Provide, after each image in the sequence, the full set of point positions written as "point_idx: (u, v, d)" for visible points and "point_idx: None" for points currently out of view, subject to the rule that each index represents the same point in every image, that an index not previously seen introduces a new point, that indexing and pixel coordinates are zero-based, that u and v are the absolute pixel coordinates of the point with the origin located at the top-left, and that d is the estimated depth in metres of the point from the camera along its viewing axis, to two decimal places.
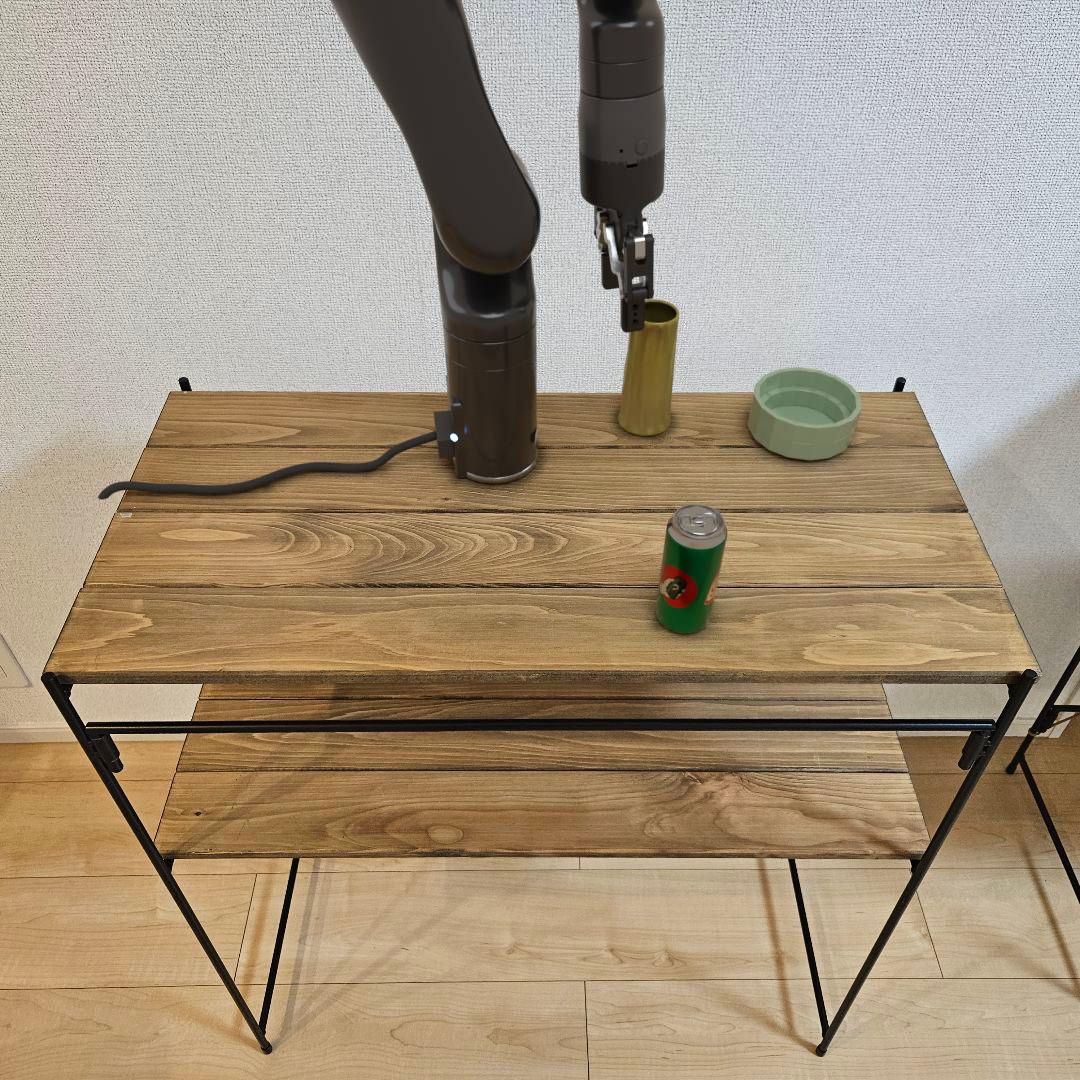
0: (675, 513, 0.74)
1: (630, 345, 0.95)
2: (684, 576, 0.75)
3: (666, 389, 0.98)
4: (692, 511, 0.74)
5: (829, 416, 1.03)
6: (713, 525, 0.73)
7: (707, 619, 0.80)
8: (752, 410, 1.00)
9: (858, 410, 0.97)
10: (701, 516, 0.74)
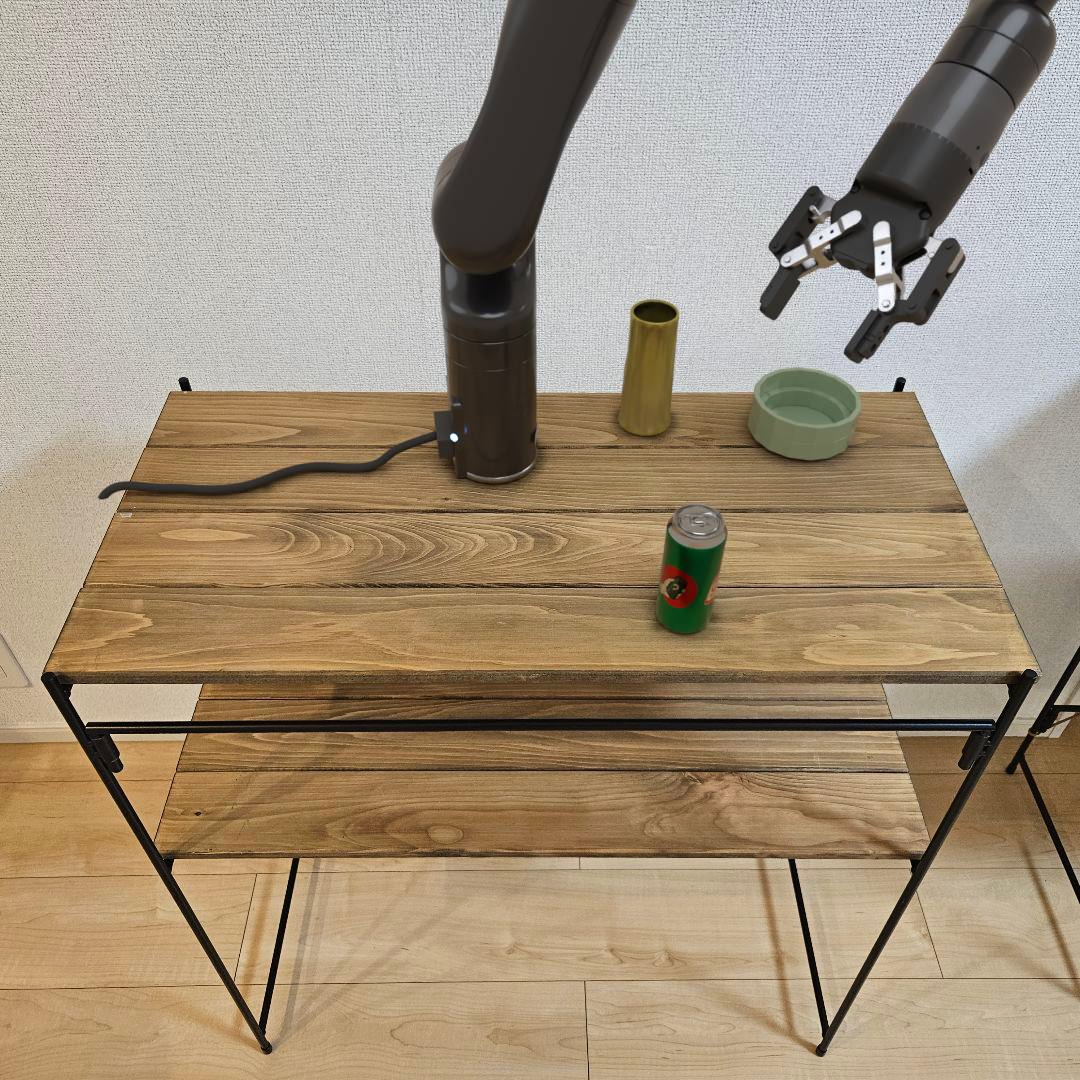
0: (675, 513, 0.74)
1: (630, 345, 0.95)
2: (684, 576, 0.75)
3: (666, 389, 0.98)
4: (692, 511, 0.74)
5: (829, 416, 1.03)
6: (713, 525, 0.73)
7: (707, 619, 0.80)
8: (752, 410, 1.00)
9: (858, 410, 0.97)
10: (701, 516, 0.74)
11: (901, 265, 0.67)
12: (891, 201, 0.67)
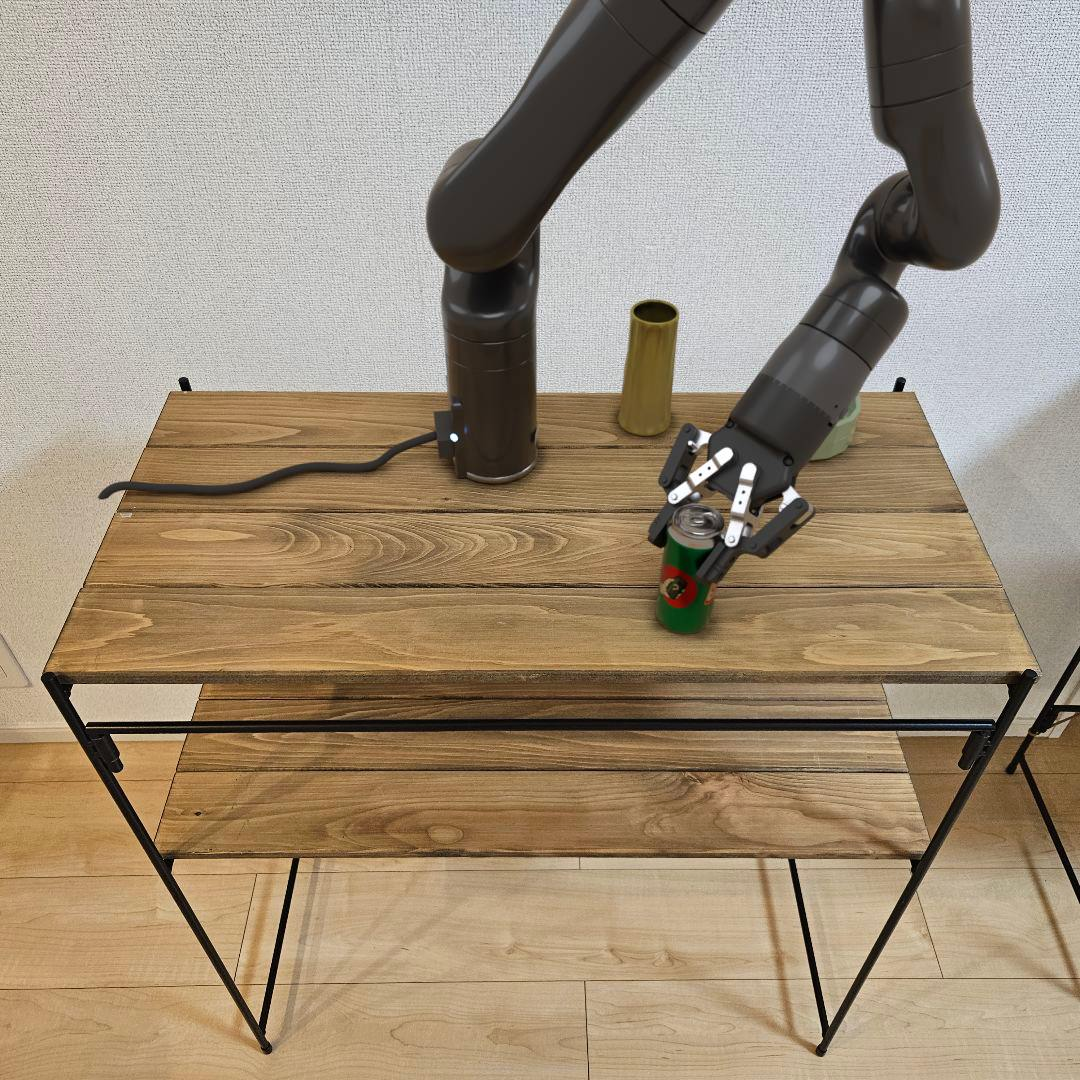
0: (675, 513, 0.74)
1: (630, 345, 0.95)
2: (684, 576, 0.75)
3: (666, 389, 0.98)
4: (692, 511, 0.74)
5: None
6: (713, 525, 0.73)
7: (707, 619, 0.80)
8: None
9: (858, 410, 0.97)
10: (701, 516, 0.74)
11: None
12: (760, 443, 0.72)
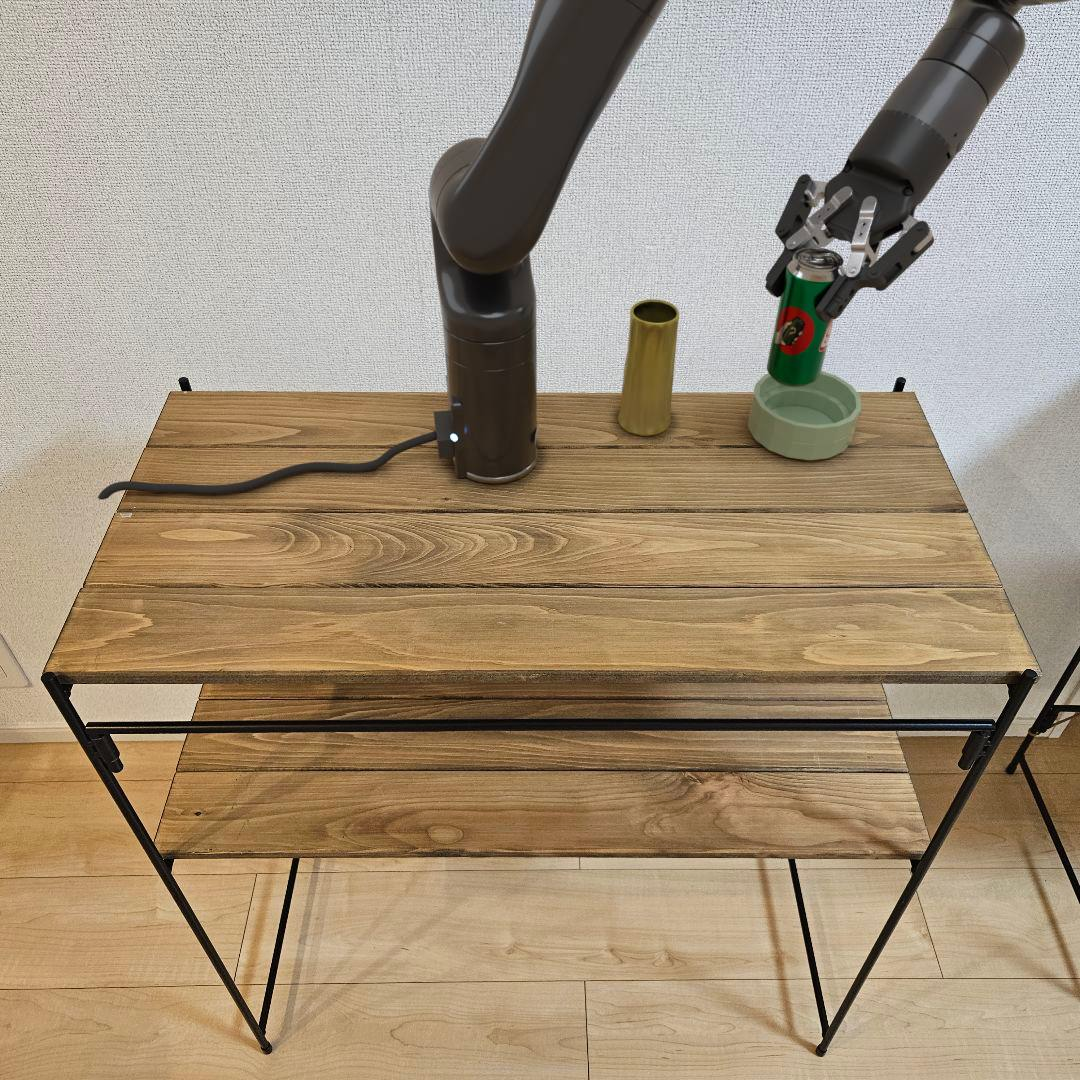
0: (795, 254, 0.78)
1: (630, 345, 0.95)
2: (803, 316, 0.79)
3: (666, 389, 0.98)
4: (811, 252, 0.78)
5: (829, 416, 1.03)
6: (832, 263, 0.77)
7: (818, 371, 0.83)
8: (752, 410, 1.00)
9: (858, 410, 0.97)
10: (820, 256, 0.78)
11: None
12: (879, 180, 0.76)
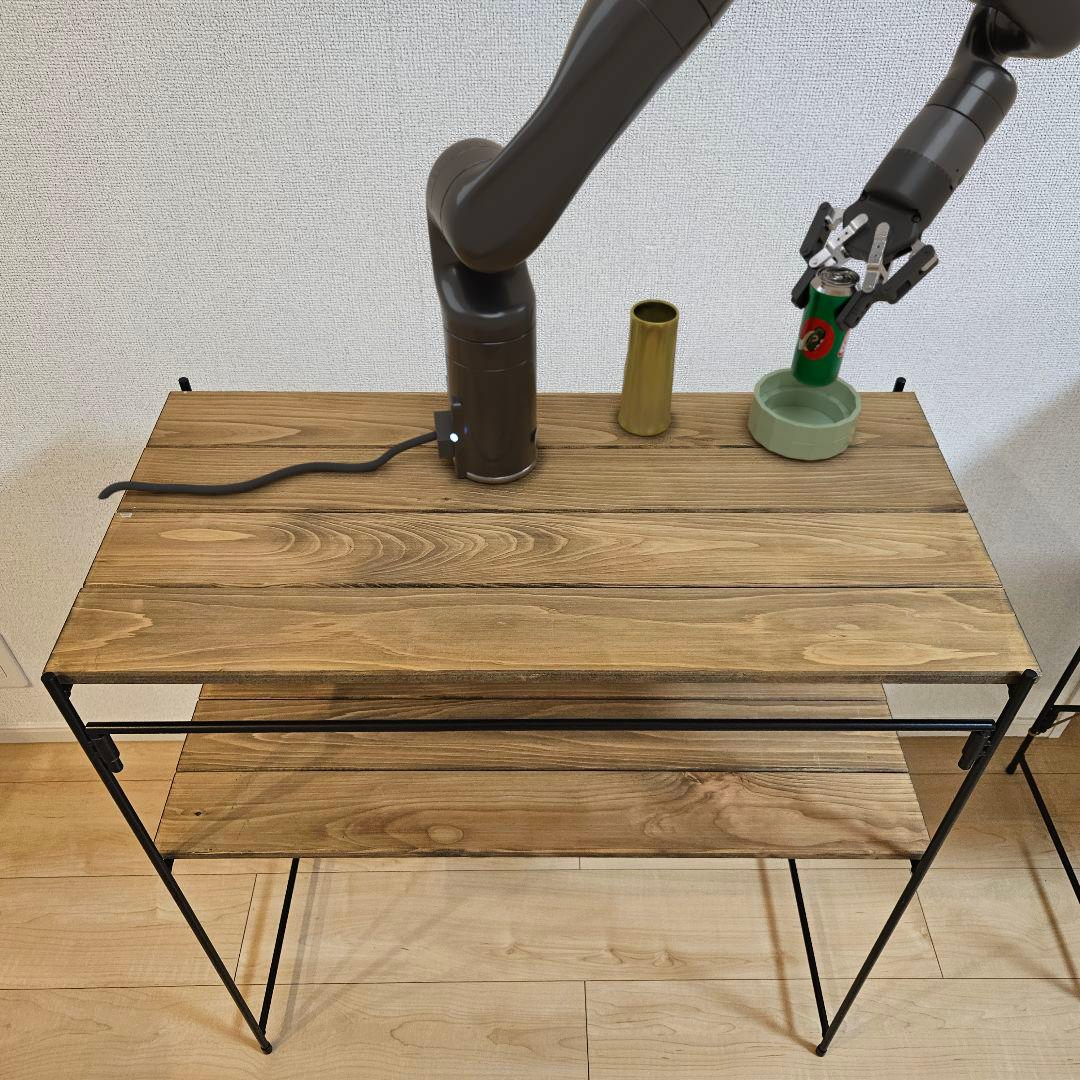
0: (817, 271, 0.89)
1: (630, 345, 0.95)
2: (824, 326, 0.90)
3: (666, 389, 0.98)
4: (831, 270, 0.90)
5: (829, 416, 1.03)
6: (850, 279, 0.89)
7: (837, 374, 0.95)
8: (752, 410, 1.00)
9: (858, 410, 0.97)
10: (839, 274, 0.89)
11: (890, 259, 0.88)
12: (891, 208, 0.87)
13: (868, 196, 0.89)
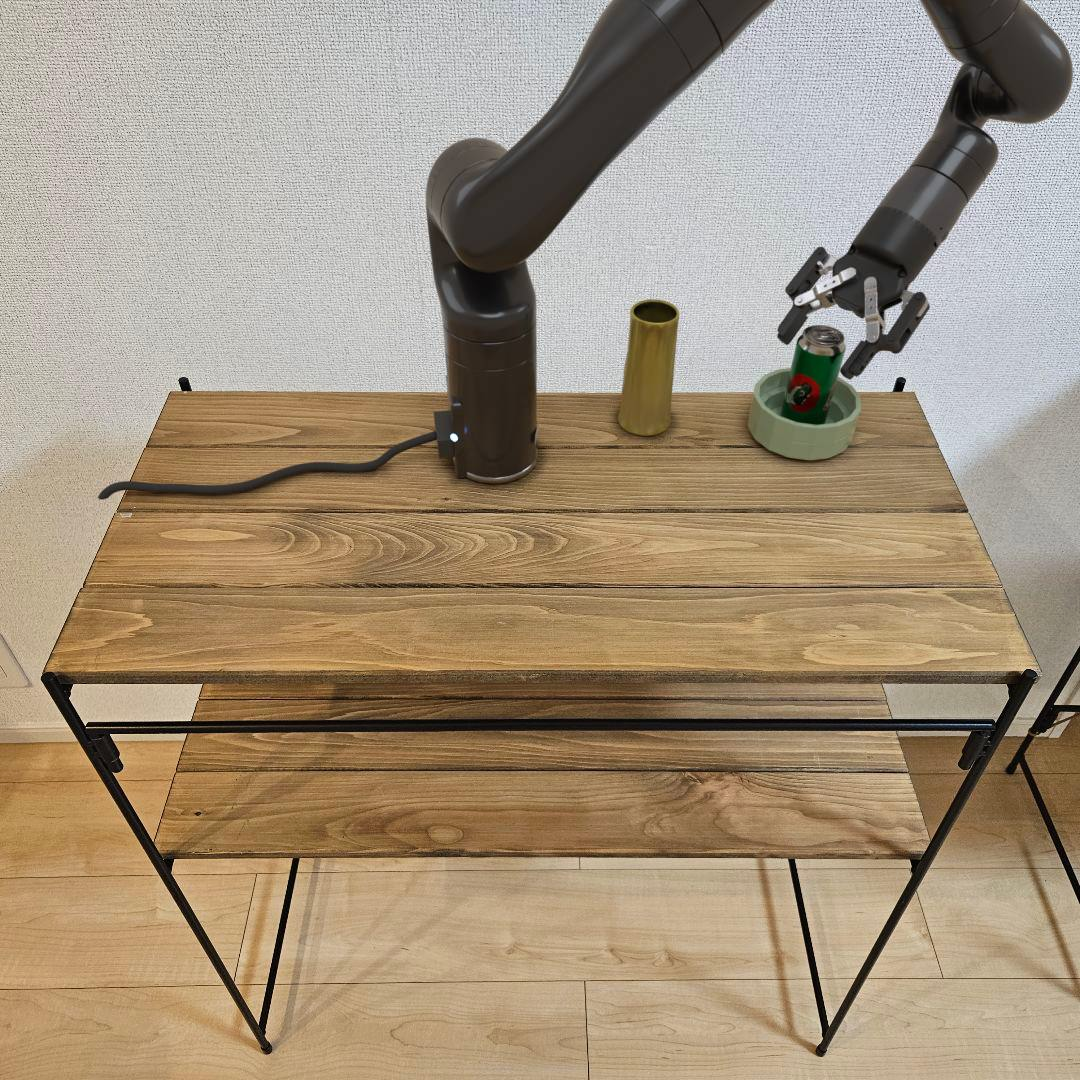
0: (804, 331, 0.94)
1: (630, 345, 0.95)
2: (810, 382, 0.95)
3: (666, 389, 0.98)
4: (817, 329, 0.94)
5: (829, 416, 1.03)
6: (835, 339, 0.93)
7: None
8: (752, 410, 1.00)
9: (858, 410, 0.97)
10: (825, 333, 0.94)
11: (883, 309, 0.92)
12: (878, 262, 0.91)
13: (856, 250, 0.93)
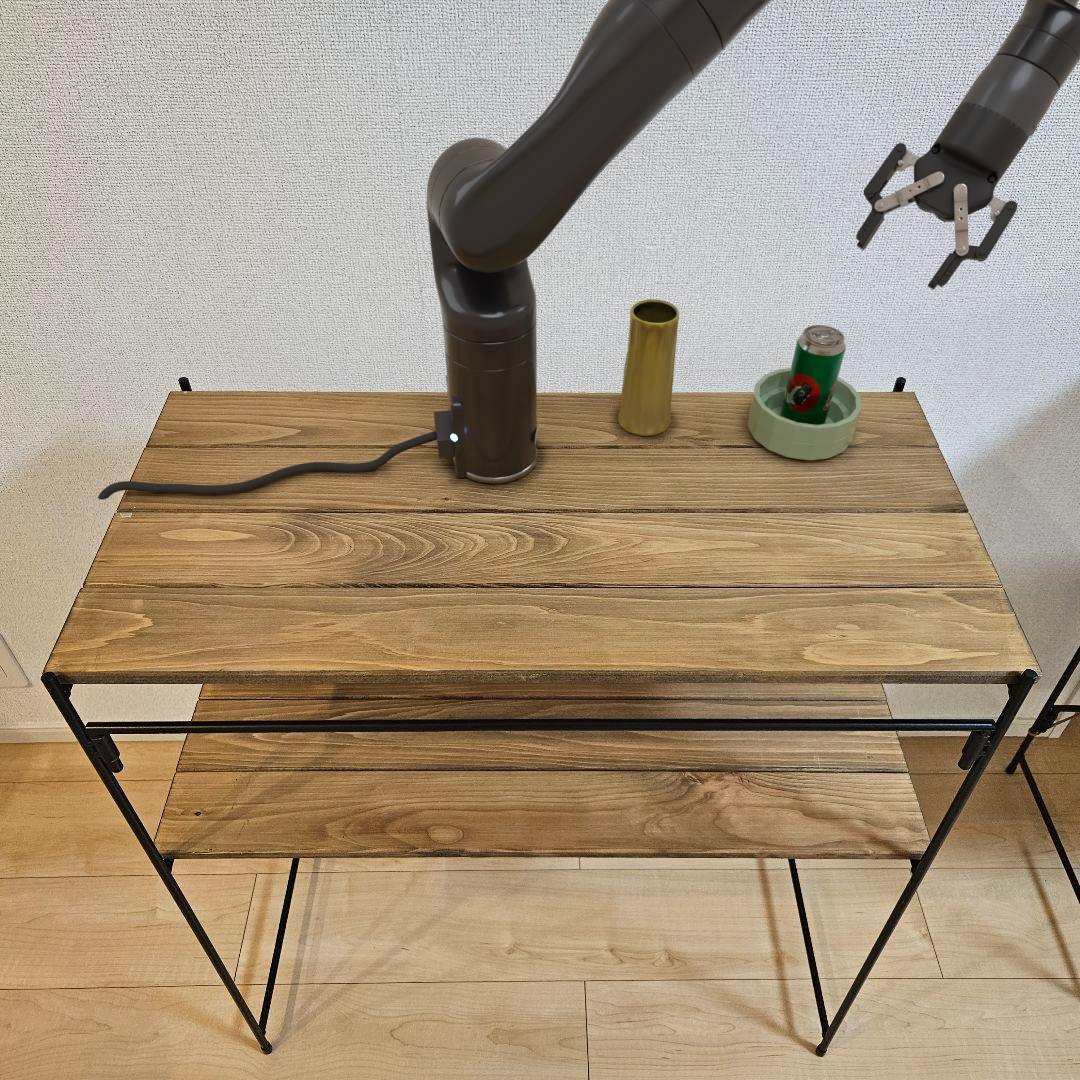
0: (804, 331, 0.94)
1: (630, 345, 0.95)
2: (810, 382, 0.95)
3: (666, 389, 0.98)
4: (817, 329, 0.94)
5: (829, 416, 1.03)
6: (835, 339, 0.93)
7: None
8: (752, 410, 1.00)
9: (858, 410, 0.97)
10: (825, 333, 0.94)
11: (968, 214, 0.91)
12: (966, 165, 0.89)
13: (941, 149, 0.90)
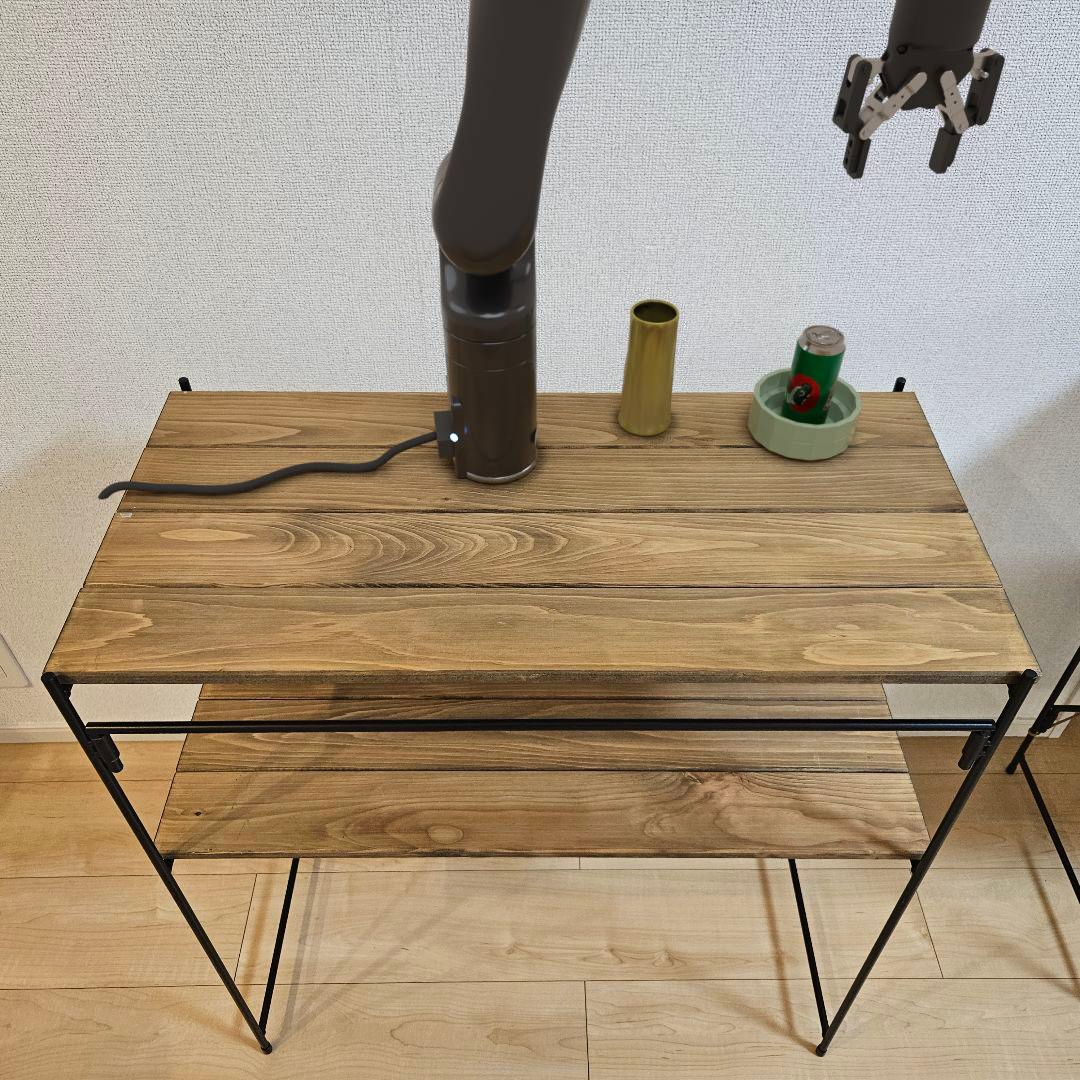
0: (804, 331, 0.94)
1: (630, 345, 0.95)
2: (810, 382, 0.95)
3: (666, 389, 0.98)
4: (817, 329, 0.94)
5: (829, 416, 1.03)
6: (835, 339, 0.93)
7: None
8: (752, 410, 1.00)
9: (858, 410, 0.97)
10: (825, 333, 0.94)
11: None
12: None
13: (909, 45, 0.76)
